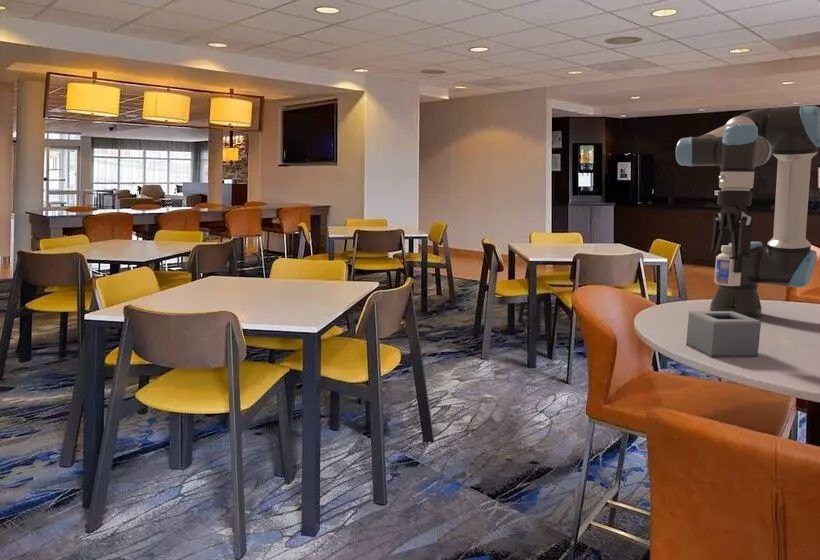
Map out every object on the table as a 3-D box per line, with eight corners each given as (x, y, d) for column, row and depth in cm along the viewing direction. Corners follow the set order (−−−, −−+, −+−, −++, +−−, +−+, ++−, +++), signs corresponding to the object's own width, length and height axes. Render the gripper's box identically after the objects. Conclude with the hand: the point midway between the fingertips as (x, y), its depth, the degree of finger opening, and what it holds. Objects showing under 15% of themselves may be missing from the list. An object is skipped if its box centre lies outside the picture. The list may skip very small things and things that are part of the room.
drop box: (729, 344, 174) (732, 311, 173) (757, 357, 162) (761, 321, 161) (686, 345, 173) (688, 311, 171) (711, 357, 161) (714, 321, 160)
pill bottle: (716, 282, 168) (720, 244, 167) (740, 284, 165) (743, 245, 164) (712, 284, 164) (716, 245, 163) (736, 287, 161) (740, 247, 160)
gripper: (700, 188, 170) (693, 277, 173) (743, 190, 152) (733, 289, 155) (728, 189, 171) (720, 278, 174) (773, 190, 152) (763, 289, 156)
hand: (726, 283), depth 165 cm, fingers closed on pill bottle, 5 cm apart
